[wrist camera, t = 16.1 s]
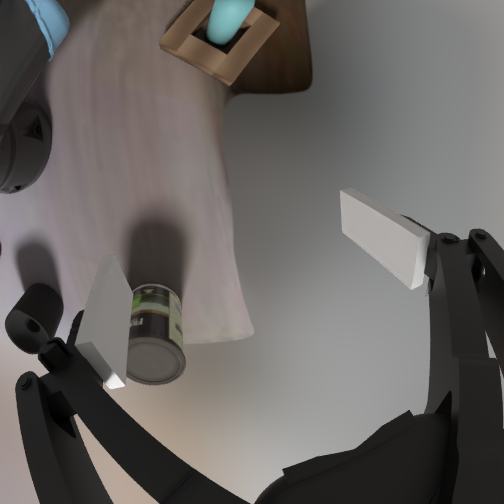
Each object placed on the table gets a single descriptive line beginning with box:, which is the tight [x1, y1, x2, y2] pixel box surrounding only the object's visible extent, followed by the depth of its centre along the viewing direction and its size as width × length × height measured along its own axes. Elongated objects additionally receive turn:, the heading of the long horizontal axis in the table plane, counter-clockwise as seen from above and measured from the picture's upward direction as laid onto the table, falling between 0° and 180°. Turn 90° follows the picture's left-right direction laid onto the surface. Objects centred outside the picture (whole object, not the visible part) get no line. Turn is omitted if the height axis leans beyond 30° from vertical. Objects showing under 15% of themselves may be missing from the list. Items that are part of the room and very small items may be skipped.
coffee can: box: [126, 283, 186, 385], centre depth 43 cm, size 10×10×14 cm
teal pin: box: [204, 0, 255, 48], centre depth 27 cm, size 4×4×14 cm
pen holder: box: [5, 284, 63, 354], centre depth 39 cm, size 9×9×10 cm
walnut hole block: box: [159, 0, 280, 87], centre depth 31 cm, size 12×12×4 cm
